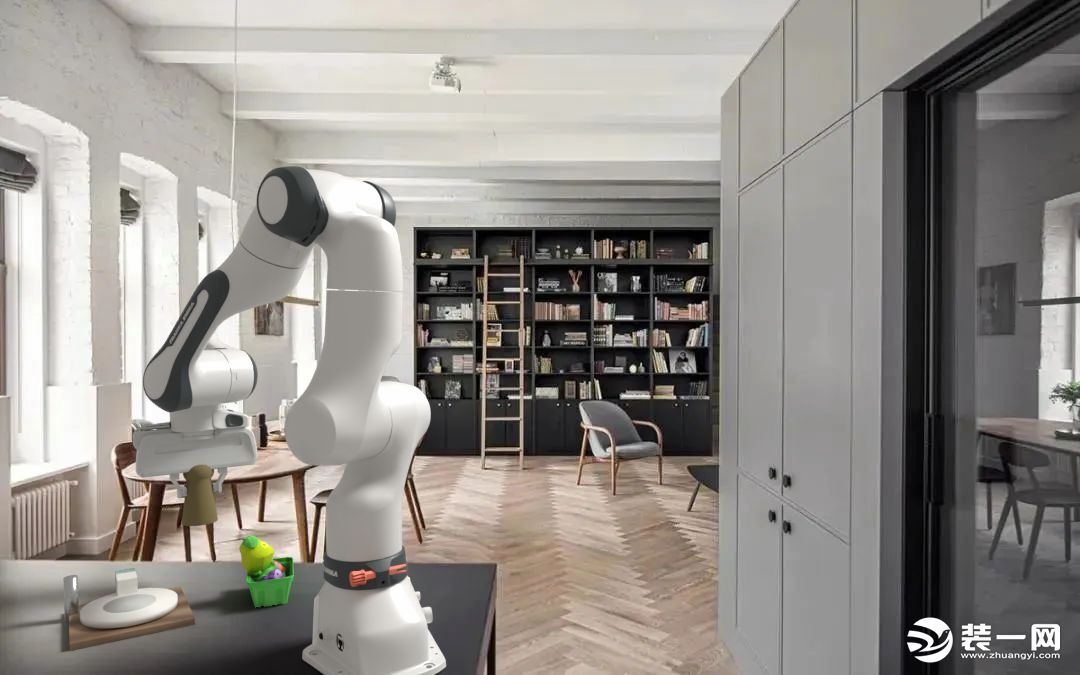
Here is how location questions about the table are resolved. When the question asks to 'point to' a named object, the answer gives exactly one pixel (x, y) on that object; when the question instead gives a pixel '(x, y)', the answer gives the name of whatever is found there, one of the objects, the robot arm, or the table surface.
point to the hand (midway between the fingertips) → (199, 495)
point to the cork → (199, 497)
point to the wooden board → (94, 636)
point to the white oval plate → (128, 604)
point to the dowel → (70, 596)
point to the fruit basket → (266, 572)
